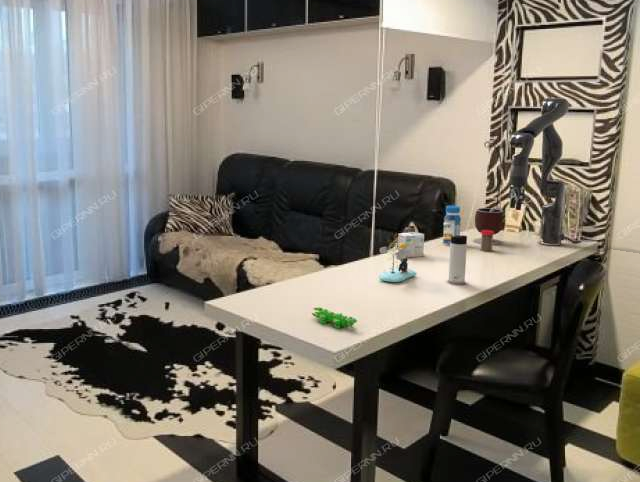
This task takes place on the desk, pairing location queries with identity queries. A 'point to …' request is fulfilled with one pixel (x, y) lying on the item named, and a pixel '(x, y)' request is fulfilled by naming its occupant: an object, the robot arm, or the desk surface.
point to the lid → (487, 232)
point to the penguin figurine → (400, 272)
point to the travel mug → (457, 259)
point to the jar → (486, 242)
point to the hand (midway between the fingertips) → (515, 209)
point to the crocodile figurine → (334, 318)
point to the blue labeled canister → (451, 223)
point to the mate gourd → (489, 221)
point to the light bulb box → (412, 243)
